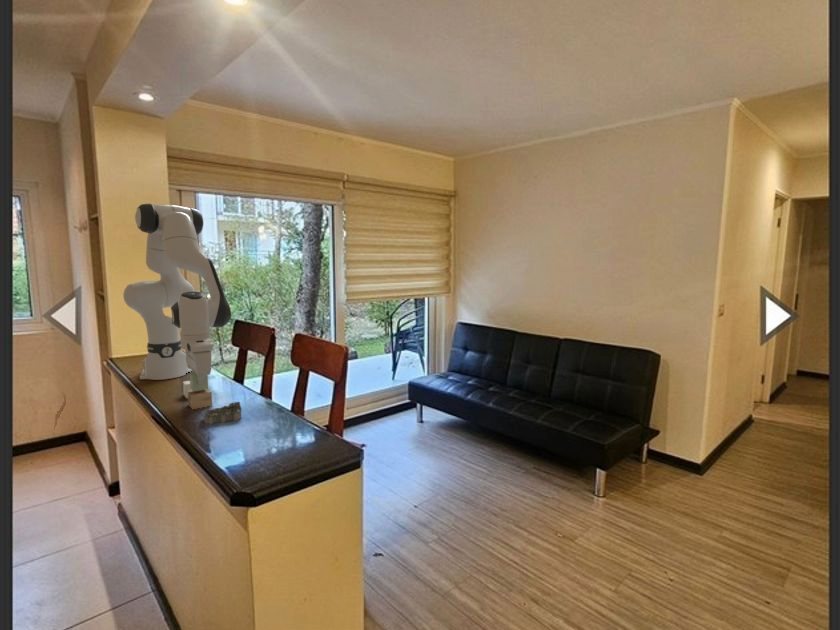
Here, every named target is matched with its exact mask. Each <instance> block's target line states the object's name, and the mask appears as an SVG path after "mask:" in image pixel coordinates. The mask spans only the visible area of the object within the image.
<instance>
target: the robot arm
mask: <svg viewBox="0 0 840 630" xmlns="http://www.w3.org/2000/svg"><path fill="white" fill-rule="evenodd" d="M134 220H135V223H136V226H137V229H139V230H140V231H141V232H143V233H146V234H147V238H146V253H145V254H146V255H145V263H146V266H147V267H148V268H147V269H149V270H150V271H151V272H153V273H156V274H157V275H158V274H159V276H160V280H150V281H147V280H146V281H137V282H133V283H130V284H128V285H126V286H125V288H124V290H123V293H122V294H123V299H124V303H125V304H126V305H127V306H128V308H130V309H132V310H134V311H135V312H137V313H138V314H139V316H141V318H142V319H143V320H144V323H145V326H146V331H147V340H148V341H147V345H146V349H147V355H145V358H144V359H143V360H141V364H142V367H143V366H144V367H143V369H142V370H141V373H140V375H139V380H153V381H155V380H156V381H161V380H162V381H163V380H169V379H175V378H176V379H177V378H179V377H183V376H185V375H187V374H189V373H188V372H190V373H196V374H197V384H198V385H199V386H202V385H204V378H205V375H207V376H210V375H211V372H212V352H211V351H213V350H214V345H213V342H212V336H211V335H212V333H211V328H223V327H226V326H227V325H228V324H229V322H230V321H231V320H232V309H231V307H230V304H229V302H228V300H227V298H226V296H225V293H224V290H223V286H222V285H221V282H220V279H219V276H218V273H217V270H216V267H215V265H214V262H213V261H212V259H211V257H210V256H208V255H206V254H205V253H204V252H203V251H202V248H200V245H199V241H198V236H199V235H200V234H201V233H202V232H203V228H204V217H203V213H201V211H200V210H199V209H195V208H192V207H184V206H179V205H176V204H175V205H173V204H152V203H143V204H140V205H139V206H137V208H136V211H135V214H134ZM181 270H184V271H188V272H191V273H194V274H196V275H198V276H199V277H201V278H202V279H203V280H204V282H205V284H206V287H207V290H208V293H209V296H210V298H208V297H207V295H206V294H205V293H203V292H200V291H195V289H194V286H193V285H192V284H191V283H190V282H189V281H188V280H186V278H185V277H184V276H183V274H182V273H181ZM164 308H170V309H171V310H170V311H171V316H169V315H166V314H165V313H164ZM183 350H185V352H184V351H183ZM191 371H192V372H191ZM186 373H187V374H186Z"/></svg>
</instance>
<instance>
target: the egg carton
mask: <svg viewBox="0 0 840 630" xmlns="http://www.w3.org/2000/svg"><path fill="white" fill-rule="evenodd" d="M242 412H243V411H242V407H241V402H240V401H234V402H231V403H229V405H223V406H221V407H216V408H212V409H204V412H203V415H204V416H203V417H204V424H208V423H209V424H208V425H212V424H211V423H213V424H214V422H215V423H218V422H217V421H220V422H219V423H227V422H228V421H236V420H237V421H238V420H240V419H242Z"/></svg>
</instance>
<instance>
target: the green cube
mask: <svg viewBox="0 0 840 630" xmlns="http://www.w3.org/2000/svg"><path fill="white" fill-rule="evenodd" d="M188 374H189V381H190V388H191V389H192V391H199V390H205V389H209V379H208V377H209V376H208V375H205V378H204V385H202V386H199V385H198V384H197V374H196V373H192V372H190V373H188Z"/></svg>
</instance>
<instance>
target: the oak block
mask: <svg viewBox="0 0 840 630" xmlns="http://www.w3.org/2000/svg"><path fill="white" fill-rule="evenodd" d="M187 394H188V398H187V404H188V406H189V407H191V408H192V409H191V408H190V409H191V410H193V409H195V410H198V409H197V408H200V409H203V408H202V407H205V408H208V407H207V406H210V407H213V397H212V395H213V394H212V391H211V390H210V389H209V388H208V389H205V390H199V391H192V390H189V391H187ZM193 411H194V410H193Z"/></svg>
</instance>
